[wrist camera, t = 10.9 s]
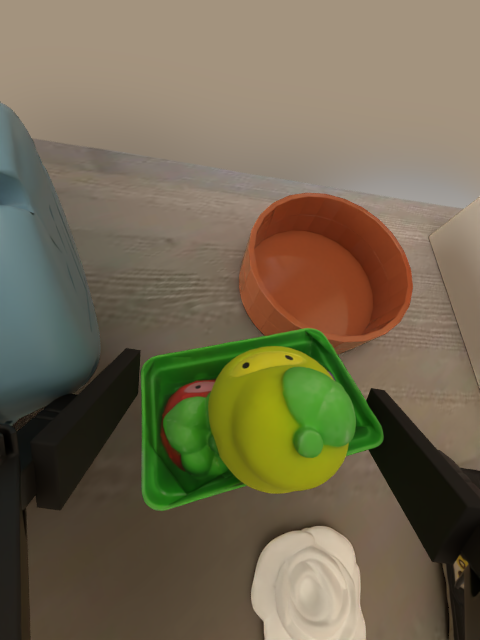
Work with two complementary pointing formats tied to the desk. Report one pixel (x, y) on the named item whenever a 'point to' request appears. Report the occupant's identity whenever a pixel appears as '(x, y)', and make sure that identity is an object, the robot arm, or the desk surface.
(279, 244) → the pot
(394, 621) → the desk surface
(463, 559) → the camera
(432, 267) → the desk surface
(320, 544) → the rose
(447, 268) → the bookstore
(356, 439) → the fruit basket
